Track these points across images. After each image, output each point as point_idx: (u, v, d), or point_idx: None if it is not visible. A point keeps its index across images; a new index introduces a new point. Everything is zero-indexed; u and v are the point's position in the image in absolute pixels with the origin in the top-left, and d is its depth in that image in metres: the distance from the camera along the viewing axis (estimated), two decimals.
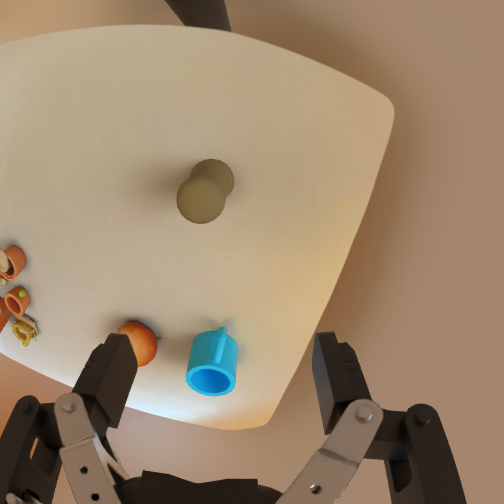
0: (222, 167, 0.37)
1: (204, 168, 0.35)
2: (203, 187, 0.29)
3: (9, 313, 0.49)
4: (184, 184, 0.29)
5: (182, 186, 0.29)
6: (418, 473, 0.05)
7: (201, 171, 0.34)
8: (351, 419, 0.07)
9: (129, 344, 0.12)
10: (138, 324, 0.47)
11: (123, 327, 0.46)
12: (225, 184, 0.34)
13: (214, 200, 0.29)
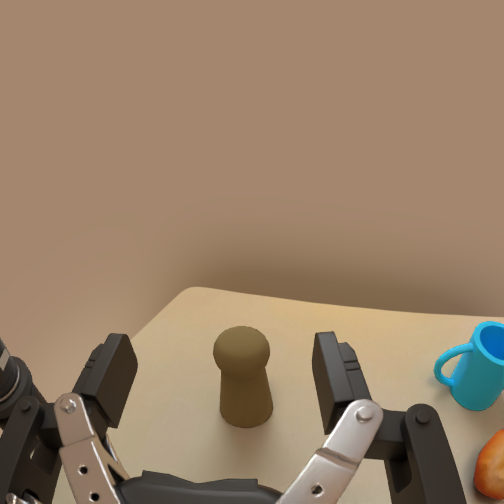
0: None
1: None
2: (223, 334, 0.26)
3: None
4: (218, 355, 0.25)
5: (220, 357, 0.25)
6: (418, 473, 0.05)
7: None
8: (351, 419, 0.07)
9: (129, 344, 0.12)
10: (475, 473, 0.16)
11: (485, 485, 0.13)
12: None
13: (238, 327, 0.27)
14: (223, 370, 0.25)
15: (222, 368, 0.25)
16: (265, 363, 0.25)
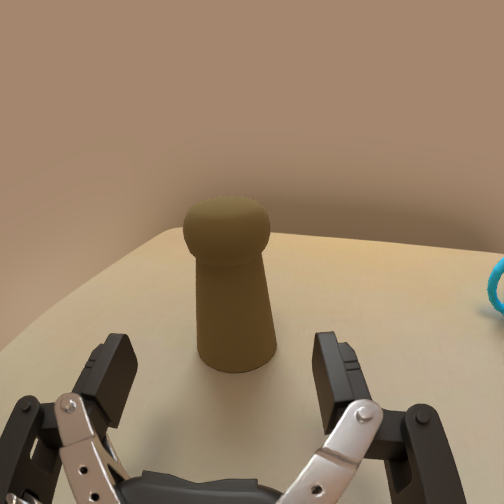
0: None
1: (196, 303, 0.20)
2: (199, 202, 0.18)
3: None
4: (189, 224, 0.16)
5: (191, 225, 0.16)
6: (418, 473, 0.05)
7: (196, 289, 0.19)
8: (351, 419, 0.07)
9: (129, 344, 0.12)
10: None
11: None
12: None
13: None
14: (196, 250, 0.16)
15: (194, 245, 0.16)
16: (263, 239, 0.17)
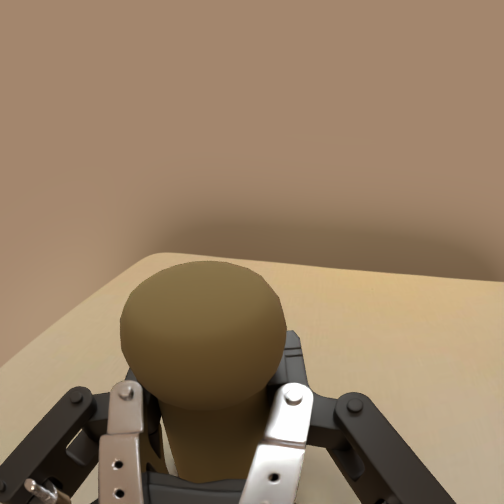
0: None
1: None
2: (149, 278, 0.09)
3: None
4: (124, 337, 0.07)
5: (127, 342, 0.07)
6: (369, 460, 0.06)
7: None
8: (282, 404, 0.08)
9: None
10: None
11: None
12: None
13: (196, 262, 0.10)
14: (143, 384, 0.07)
15: (138, 378, 0.07)
16: (274, 365, 0.08)
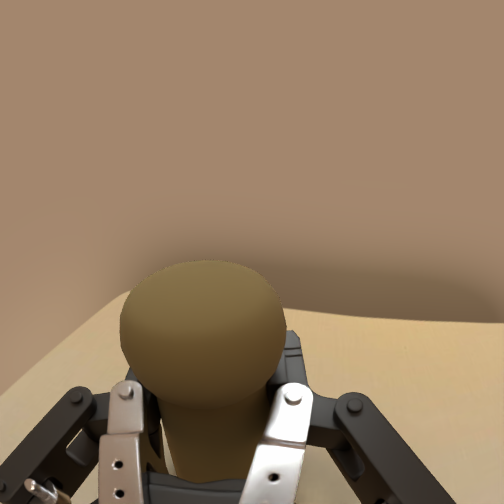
0: None
1: None
2: (150, 276, 0.09)
3: None
4: (123, 333, 0.07)
5: (126, 338, 0.07)
6: (369, 460, 0.06)
7: None
8: (282, 404, 0.08)
9: None
10: None
11: None
12: None
13: (197, 261, 0.10)
14: (142, 382, 0.07)
15: (137, 375, 0.07)
16: (273, 364, 0.08)
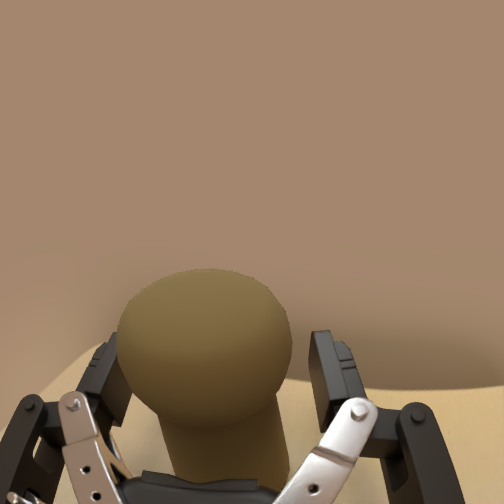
0: None
1: None
2: (149, 287, 0.09)
3: None
4: (119, 349, 0.07)
5: (122, 355, 0.07)
6: (414, 471, 0.05)
7: None
8: (346, 417, 0.07)
9: None
10: None
11: None
12: None
13: (199, 270, 0.09)
14: (139, 398, 0.07)
15: (134, 392, 0.07)
16: (277, 384, 0.07)
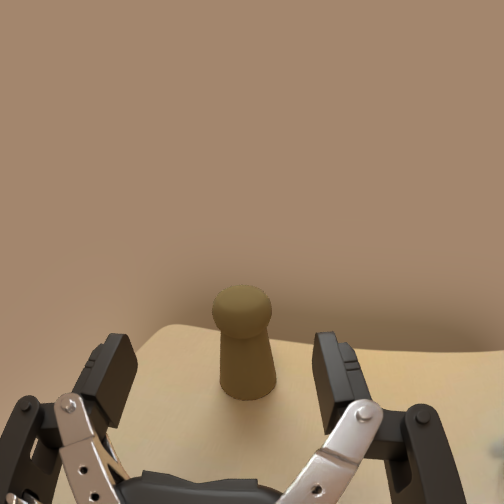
0: None
1: (220, 354, 0.28)
2: (223, 291, 0.26)
3: None
4: (216, 312, 0.24)
5: (218, 313, 0.24)
6: (418, 473, 0.05)
7: (220, 346, 0.27)
8: (351, 419, 0.07)
9: (129, 344, 0.12)
10: None
11: None
12: None
13: (239, 285, 0.27)
14: (222, 328, 0.24)
15: (221, 326, 0.24)
16: (266, 321, 0.25)
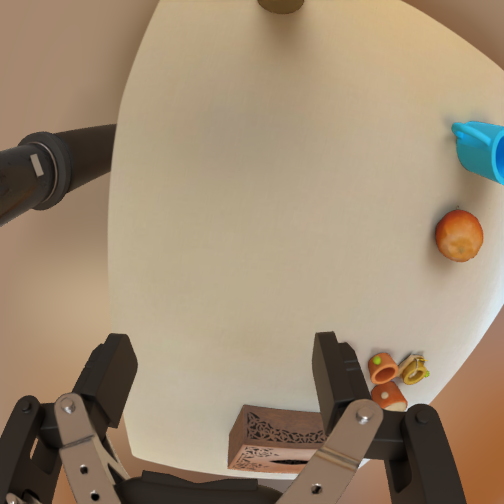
0: None
1: None
2: None
3: (391, 383, 0.53)
4: None
5: None
6: (418, 473, 0.05)
7: None
8: (351, 419, 0.07)
9: (129, 344, 0.12)
10: (439, 225, 0.37)
11: (439, 244, 0.37)
12: None
13: None
14: None
15: None
16: None
